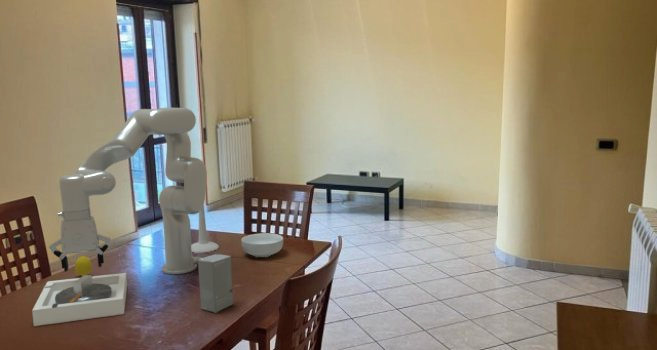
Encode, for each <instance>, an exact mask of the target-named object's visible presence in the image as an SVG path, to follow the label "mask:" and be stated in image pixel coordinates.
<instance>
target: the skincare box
mask: <svg viewBox="0 0 657 350" xmlns="http://www.w3.org/2000/svg"><path fill="white" fill-rule="evenodd" d="M231 258H232V256H231V255H227V254H220V253H215V254H212V255H208V256H207V255H206V256H205V258H202V259H199V260H198V263H197V264H198V265H197V267H198V279H199V280H198V281H199V296H200V309H201V310H205V311H208V312H212V313H214V314H217V313H219V312H221V311H222V310H225V309H227V308H228V307H230V306H233V305H234V297H233V295H234V292H233V278H232V277H233V275H232V274H233V273H232V259H231Z"/></svg>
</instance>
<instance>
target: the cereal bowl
mask: <svg viewBox="0 0 657 350" xmlns="http://www.w3.org/2000/svg"><path fill="white" fill-rule="evenodd" d="M240 243H241V247H242V249H243V251H244V252H245V253H246V254H249V255H251V256H253V257H254V256H255V257H254V258H258V257H265V258H269V256H270V257H272V256H273V255H274V254H277V253H279V252H280V251H281V249H283V246H284V237H283V236H282V235H280V234H277V233H266V232H264V233H263V232H262V233H261V232H260V233H254V234H249V235H245V236H243V237H242V238H241V242H240ZM271 255H272V256H271Z"/></svg>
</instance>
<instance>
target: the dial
mask: <svg viewBox="0 0 657 350" xmlns="http://www.w3.org/2000/svg"><path fill="white" fill-rule="evenodd" d="M92 277H93V275H92V274H88V275H83V276H81V277H78V278H79V279H78V280H77V281H75V282H74V283H73V287H70V288H67V289H65V290H62V291H61V292H59V293H58V294H57V295H56V296H55V303H56V304H57V303H58V304H66V303H74V302H82V301H90V300H98V299H106V298H109V297H110V296H111V294H112V291H111V287H110V286H108V285H105V284H97V283H94V284H92Z"/></svg>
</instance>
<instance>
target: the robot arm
mask: <svg viewBox="0 0 657 350" xmlns="http://www.w3.org/2000/svg"><path fill="white" fill-rule="evenodd" d="M196 123H197V119H196V115H195V113H194V112H193V111H192V110H191V109H189V108H186V107H161V108H158V109H157V108H156V109H155V108H141V109H137V110H134V111H133V112H132V113H131V115H130V116H129V117H128V118H127V120H126V121H125V122H124V123H123V125H122V126H121V127H120V128H119V130H118V131H117V132H116V133H115V135H114V136H113V137H112V139H110V141H108V142H106V143H105V144H103V145H102V146H100V147H99V148H97V149H96V150H94V151H93V152H92V153H91V154H89V155H88V156H87V157H86V158H85V160H84V161H83V162H82V163H81V165H79V167H78V168H77V169H76V171H75V173H72V174H71V173H70V174H65V175H63V176H61V177H60V178H59V183H58V184H59V190H60V198H61V207H62V211H61V212H57V218H62V220H61V222H60V238H59V239H58V240H56V241H54V242H53V243H51V244H50V245H49V247H48V248H49V249H50V251H51V252H52V253H53V255H54V256H56V257H57V258H58V259H60V262H61V268H62V269H64V272H68V270H69V261H68V256H67V254H77V253H85V252H86V253H87V252H92V251H95V252H96V253H97V256H96V257H97V263H98V267H99V268H101V267H102V265H103V264H104V263H105V262H104V261H105V259H104V252H106V251H107V249H108V248H109V246H110V244H111V242H112V238H110V237H108V236H105V235H101V234H99V232H98V228H97V224H96V221H95V218H94V216H92V211H91V205H90V196H102V195H107V194H109V193H111V192H112V191H113V190H114V189H115V187H116V183H117V182H116V178H115V176H114V175H113V174H112V173H111V172H109V171H106V170H107V169H108V168H109V167H111V166H113V165H115V164H117V163H119V162H123V161H125V160H128V159H130V158H132V157H134V156H135V155H136V154H137V152H138V151H139V149H140V148H141V146H143V144H144V143H145V141H146V140H147V138H148V137H149V136H150V135H154V136H156V135H157V136H160V135H161V136H162V135H163V136H164V139H165V142H166V154H165V155H166V158H165V176H166V178H167V179H168V180H169V181H171V182H175V183H182V184H183V186H182V185H168V186H166V187H164V188H163V189H162V190H161V191H160V192H159V196H158V203H159V207H160V210H161V213H162V214H161V215H162V222H163V223H162V224H163V240H164V255H165V264H164V265H162V266H161V271H162V273H165V274H169V275H182V274H187V273H191V272H193V271H195V270H196V269H197V267H198V265H197V264H198V260H199V259H202V258H205V257H206V256H205V257H204V256H203V257H202V256H201V255H200V256H194V255H193V254H194V253H192V248H191V245H192V233H191V232H192V231H191V219H190V217H189V215H196V214H199V212H200V211H201V210H202V208H203V206H204V207H205V201H206V189H207V174H208V171H207V167H206V165H205V163H204V161H203V160H201V159H199V157H193V156H191V152H192V151H191V150H192V145H191V144H192V143H191V138H190V135H189V134H188V132H191V131H192V130H193V129H194V128H195V125H196ZM99 241H101V242H102V241H103V242H105V243H104V244H103V246H102V247H101V246H100V245H99V244H100V242H99ZM59 246H61V251H62V252H61V251H60V250H59V249H58V248H57V247H59Z"/></svg>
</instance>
